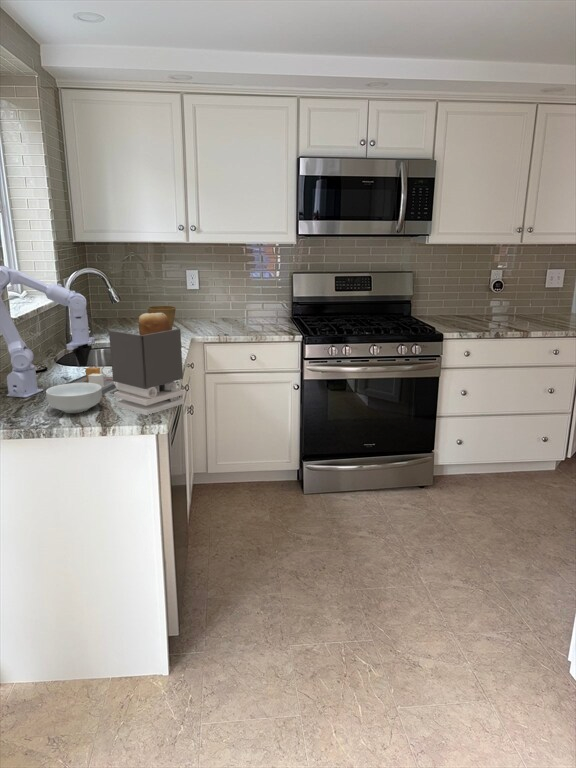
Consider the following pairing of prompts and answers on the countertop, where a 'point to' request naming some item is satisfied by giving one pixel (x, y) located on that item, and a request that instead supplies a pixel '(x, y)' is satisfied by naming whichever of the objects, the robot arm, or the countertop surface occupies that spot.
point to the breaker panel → (99, 381)
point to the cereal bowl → (74, 396)
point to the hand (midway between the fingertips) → (83, 366)
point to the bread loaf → (153, 323)
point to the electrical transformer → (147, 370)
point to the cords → (85, 376)
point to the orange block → (92, 371)
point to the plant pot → (164, 312)
